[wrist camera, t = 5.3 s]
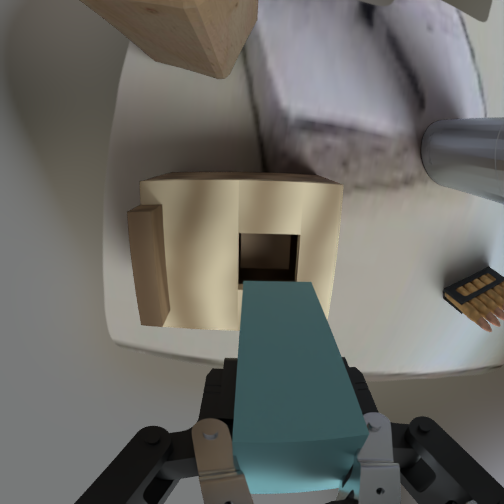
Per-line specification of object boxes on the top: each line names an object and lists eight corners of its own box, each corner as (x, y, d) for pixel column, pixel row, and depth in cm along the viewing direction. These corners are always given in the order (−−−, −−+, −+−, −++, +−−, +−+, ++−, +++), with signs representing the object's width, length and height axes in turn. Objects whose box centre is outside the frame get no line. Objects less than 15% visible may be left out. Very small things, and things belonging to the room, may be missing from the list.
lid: (339, 183, 25) (355, 189, 21) (323, 324, 29) (332, 348, 25) (144, 180, 24) (125, 185, 20) (156, 319, 29) (144, 343, 25)
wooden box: (317, 175, 33) (338, 183, 25) (308, 285, 38) (322, 323, 29) (171, 172, 33) (145, 179, 25) (176, 282, 38) (157, 318, 29)
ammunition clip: (443, 299, 39) (485, 339, 28) (443, 289, 38) (487, 329, 27) (488, 276, 38) (532, 307, 26) (489, 266, 37) (534, 297, 26)
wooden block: (226, 83, 30) (196, 4, 11) (150, 61, 29) (61, -6, 10) (260, 17, 27) (268, -91, 8) (185, -2, 26) (136, -99, 7)
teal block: (311, 281, 17) (369, 433, 7) (304, 337, 19) (338, 487, 8) (243, 280, 17) (232, 441, 7) (242, 336, 19) (234, 493, 8)
